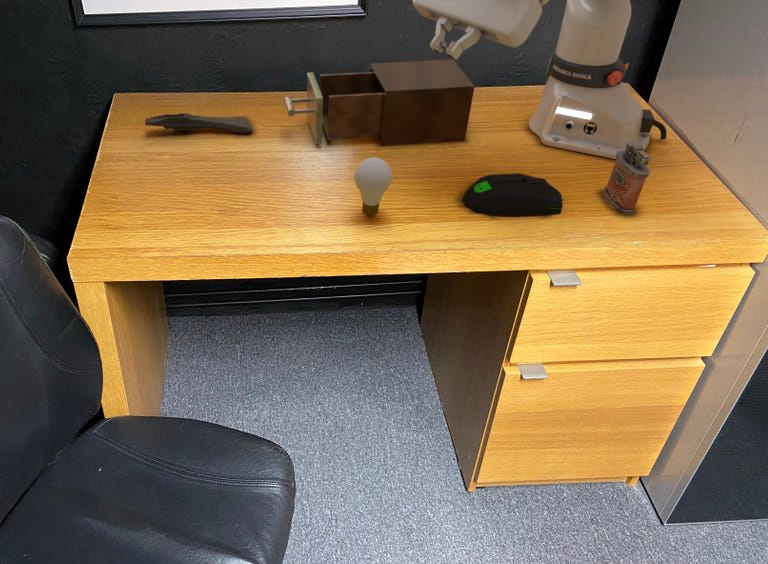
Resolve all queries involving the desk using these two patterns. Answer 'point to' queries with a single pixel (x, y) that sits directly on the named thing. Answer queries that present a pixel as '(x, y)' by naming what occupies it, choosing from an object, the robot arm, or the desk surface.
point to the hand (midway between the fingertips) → (442, 52)
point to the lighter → (627, 179)
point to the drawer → (342, 106)
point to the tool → (200, 122)
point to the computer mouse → (513, 196)
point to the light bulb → (372, 183)
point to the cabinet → (423, 101)
